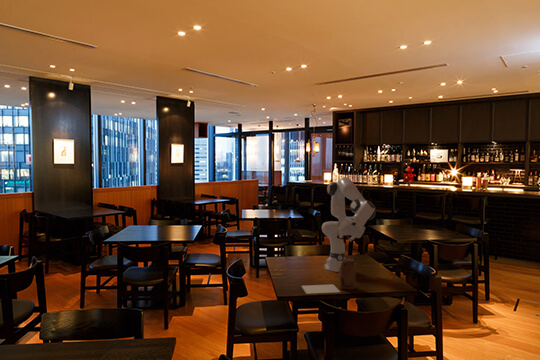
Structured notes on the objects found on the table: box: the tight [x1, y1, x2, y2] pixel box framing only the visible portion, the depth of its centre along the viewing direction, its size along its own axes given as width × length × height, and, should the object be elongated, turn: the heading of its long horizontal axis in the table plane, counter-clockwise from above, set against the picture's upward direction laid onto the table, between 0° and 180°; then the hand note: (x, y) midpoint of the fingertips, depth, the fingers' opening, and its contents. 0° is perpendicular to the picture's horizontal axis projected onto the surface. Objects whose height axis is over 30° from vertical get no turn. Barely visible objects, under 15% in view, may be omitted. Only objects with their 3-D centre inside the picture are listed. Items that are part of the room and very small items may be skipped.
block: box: [338, 257, 357, 291], centre depth 236 cm, size 11×8×20 cm
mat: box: [301, 283, 341, 295], centre depth 234 cm, size 15×23×1 cm, turn 98°
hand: (344, 239), depth 231 cm, fingers open, 8 cm apart
